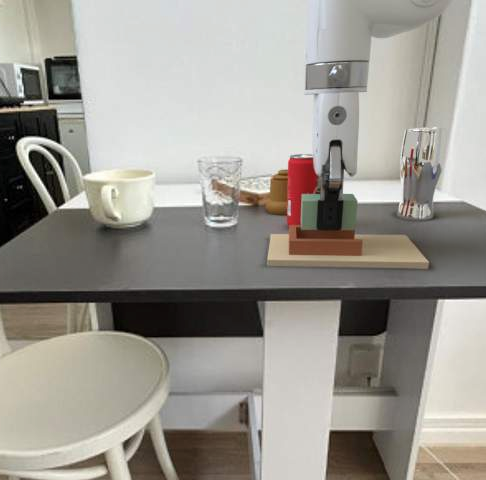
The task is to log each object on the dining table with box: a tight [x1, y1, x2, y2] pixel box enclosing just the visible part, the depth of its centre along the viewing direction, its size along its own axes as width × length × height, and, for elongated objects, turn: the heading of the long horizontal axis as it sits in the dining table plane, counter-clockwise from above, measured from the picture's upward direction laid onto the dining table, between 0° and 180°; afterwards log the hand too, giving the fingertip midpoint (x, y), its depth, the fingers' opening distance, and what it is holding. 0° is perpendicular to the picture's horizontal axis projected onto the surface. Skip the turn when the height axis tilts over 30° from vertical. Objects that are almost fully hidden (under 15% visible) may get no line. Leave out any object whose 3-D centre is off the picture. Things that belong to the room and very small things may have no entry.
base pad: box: [266, 225, 430, 270], centre depth 61 cm, size 20×12×3 cm, turn 80°
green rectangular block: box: [301, 193, 358, 231], centre depth 60 cm, size 7×4×4 cm, turn 81°
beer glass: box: [395, 126, 449, 221], centre depth 76 cm, size 7×7×15 cm
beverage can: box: [286, 153, 320, 227], centre depth 72 cm, size 5×5×12 cm
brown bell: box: [265, 169, 288, 216], centre depth 85 cm, size 8×8×8 cm
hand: (327, 223), depth 61 cm, fingers closed on green rectangular block, 4 cm apart
